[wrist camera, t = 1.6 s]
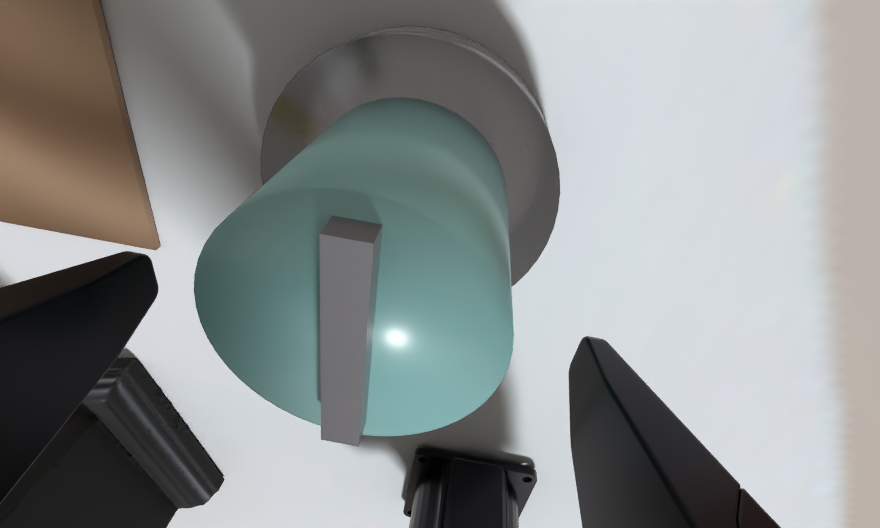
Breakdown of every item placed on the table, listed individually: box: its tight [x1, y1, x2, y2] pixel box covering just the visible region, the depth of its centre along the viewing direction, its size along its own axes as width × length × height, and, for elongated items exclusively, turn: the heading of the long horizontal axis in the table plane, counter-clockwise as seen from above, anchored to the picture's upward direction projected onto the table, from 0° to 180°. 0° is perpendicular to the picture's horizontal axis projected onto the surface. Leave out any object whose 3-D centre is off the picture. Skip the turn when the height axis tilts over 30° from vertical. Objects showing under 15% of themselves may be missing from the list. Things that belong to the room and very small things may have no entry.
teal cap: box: [194, 97, 514, 447], centre depth 10 cm, size 6×6×7 cm
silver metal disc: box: [261, 26, 560, 287], centre depth 14 cm, size 9×9×2 cm
